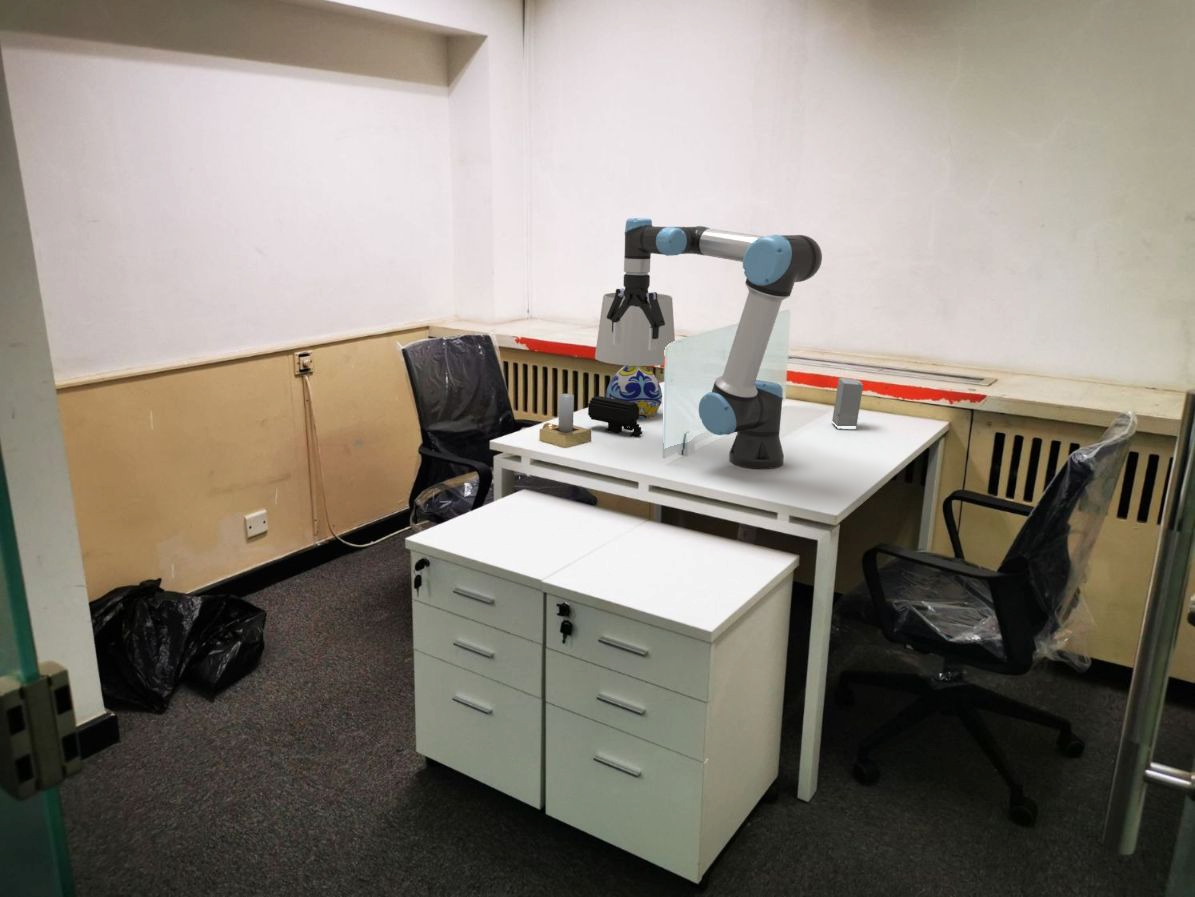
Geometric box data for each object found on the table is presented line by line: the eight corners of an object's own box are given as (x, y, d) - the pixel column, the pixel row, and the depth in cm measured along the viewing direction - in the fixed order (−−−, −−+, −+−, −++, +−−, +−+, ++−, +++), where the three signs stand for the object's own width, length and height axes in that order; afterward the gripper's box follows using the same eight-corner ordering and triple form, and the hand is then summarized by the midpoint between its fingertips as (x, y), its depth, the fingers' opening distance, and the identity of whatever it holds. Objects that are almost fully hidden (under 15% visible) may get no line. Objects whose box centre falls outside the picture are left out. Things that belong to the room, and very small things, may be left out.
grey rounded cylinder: (576, 440, 271) (576, 395, 267) (565, 443, 268) (566, 397, 264) (565, 438, 274) (566, 393, 270) (555, 440, 271) (555, 395, 267)
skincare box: (831, 423, 300) (835, 377, 296) (852, 424, 300) (857, 377, 296) (836, 430, 292) (841, 382, 288) (859, 430, 292) (864, 382, 287)
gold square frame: (591, 441, 272) (591, 428, 270) (565, 447, 264) (565, 434, 263) (559, 432, 280) (559, 420, 279) (533, 438, 272) (533, 425, 271)
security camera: (633, 439, 275) (634, 407, 272) (585, 429, 285) (586, 398, 283) (646, 434, 280) (647, 403, 277) (598, 425, 291) (599, 394, 288)
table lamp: (604, 426, 290) (608, 300, 279) (585, 407, 315) (587, 291, 304) (684, 422, 296) (691, 300, 285) (659, 404, 322) (664, 291, 311)
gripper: (679, 276, 253) (675, 351, 259) (613, 269, 269) (611, 340, 275) (662, 277, 248) (659, 354, 254) (596, 270, 264) (594, 342, 270)
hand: (634, 347), depth 264 cm, fingers open, 13 cm apart
